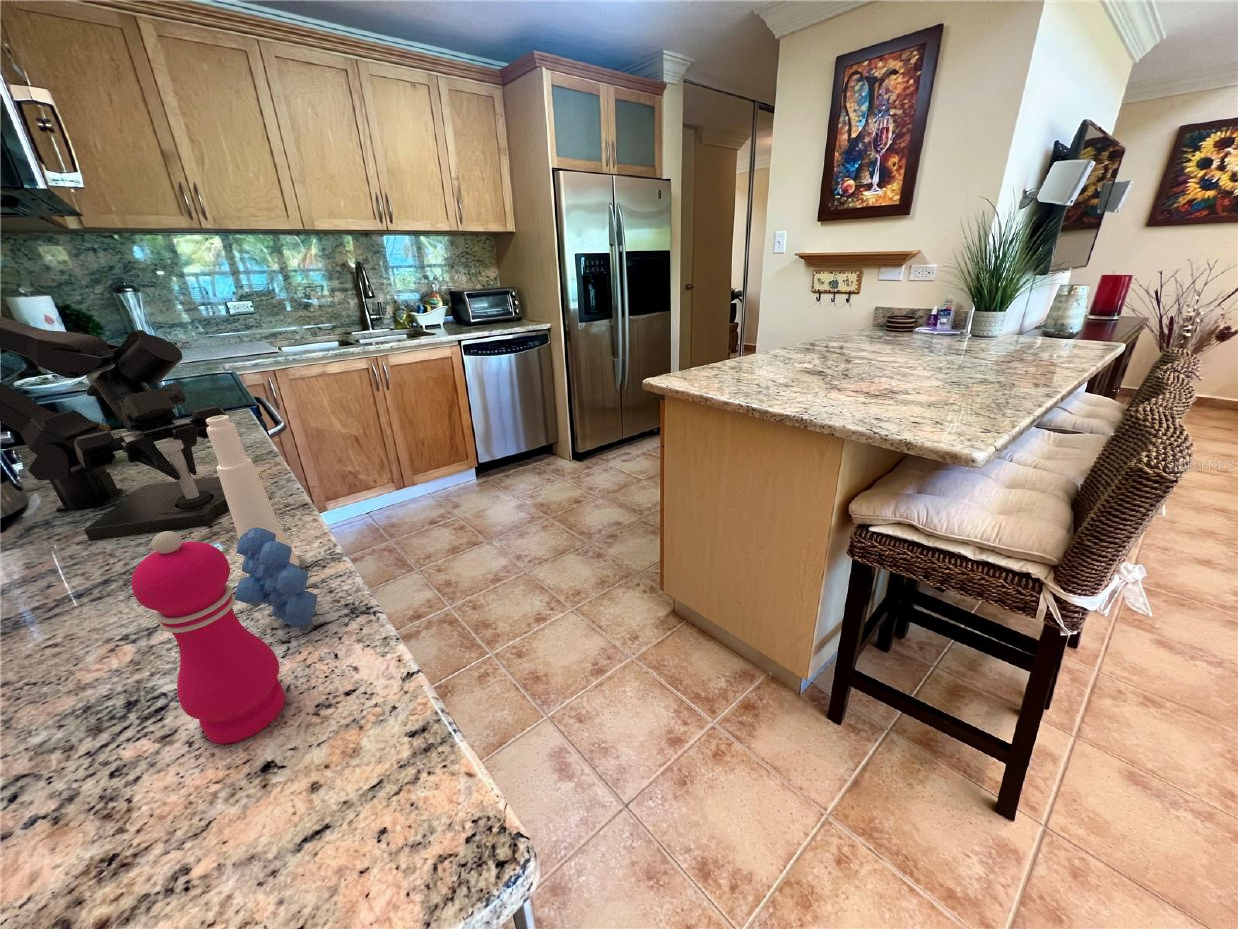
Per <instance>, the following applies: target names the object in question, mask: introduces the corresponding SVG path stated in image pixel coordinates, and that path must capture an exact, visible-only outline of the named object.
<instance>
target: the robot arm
mask: <svg viewBox="0 0 1238 929" xmlns="http://www.w3.org/2000/svg"><path fill="white" fill-rule="evenodd" d="M0 349H1V350H5V351H9V352H12V353H15V354H18V355H20V356H23V357H26V358H28V359H29V360H30V361H31V362H32V363H33V364H34V365H35V366H36V367H38V368H41V369H43V370H45V371H48V372H50V373H52V374H55V375H57V376H59V377H63V378H64V379H78V378H81V377H85V376H89V375H92V374H96V373H99V372H100V373H99V374H98V375H97V376H96V377H95V378H94V379H91V381H90V385H89V386H88V387H87V389H86V395H87V396H88V397H96V398H103V399H104V400H105V402H106V403H107V405H108V406H109V407H110V409H111V410H112V412H113V413H114V414H115V416H116V418H117V419H118V422H119V424H121V426H123V427H124V428H125V430H126V432H124V433H121V434H120V435H119V437H114V435H113V433H112V432H111V433H112V434H111V433H110V432H109V431H104V430H103V429H102V428H100V427H98V426H101V423H100V422H96V421H94V420H92V419H89V418H88V417H87V416H86V415H84V414H82V413H81V412H80V411H77V410H74V409H71V410H68V411H65V412H61V413H59V412H54V411H51V410H49V409H47V408H45V407H43V406H42V405H40V404H38V403H37V402H35V401H33V400H32V399H30V398H29V397H26V396H25V395H23V394H21V393H20V392H18V391H17V390H14V389H13V388H11V387H9V386H7V385H6V384H4V383H3V382H1V381H0V423H2V424H4V425H5V426H7V427H9V428H11V429H13V430H14V431H16V432H18V433H19V434H20V435H21V437H22V439H23V442H24V443H25V445H26V447H27V449H28V450H29V451H30V452H32V453H34V454H35V455H36V456H35V458H34V460H33V461H32V463H31V464H30V466H29V467H28V468H27V471H28V473H30V475H31V476H32V477H33V478H34V479H35V480H36V481H39V482H40V481H41V482H42V481H49V483H50V484H51V486H52V488H53V490H54V493H55V494H56V496H57V497H58V499H59V501H60V503H61V504H60V505H58V506H57V507H55V509H54V510H55V511H56V512H61V511H69V510H79V509H87V508H96V507H97V508H98V507H101V506H103V505H104V504H106V503H107V502H109V501H110V500H112V499H113V498H114V497H117V495H119V494H120V493H122V492H123V491H124V489H123V487H120V488H119V487H118V486H117V485H116V483H115V481H114V478H113V476H112V474H111V473H110V472H109V471H107V470H106V468H105V467H106V466H110V465H113V464H114V463H115V461H116V460H117V455H116V454H115V453H116V452H119V451H122V452H123V453H125V454H126V456H127V461H128V462H129V463H130V464H134V463H140V464H142V465H145V466H147V467H150V468H152V469H155V470H157V471H158V472H161V473H162V474H164V475H167V476H168V477H170V478H172V479H173V480H174V481H178V480H180V476H179V474H178V472H177V471H176V469H175V468H174V467H173V466H172V465H171V462H170V460H169V459H167V458H166V456H164V453H163V452H161V450H159V448H158V447H157V445H156V444H155V443H156V442H160V441H164V440H167V439H172V440H181V441H182V443H183V446H184V448H183V449H181V451H182V454H183V456H184V458H185V461H186V463H187V466H188V468H189V471H190V473H191V475H192V476H196V475H197V468H196V463H195V462H196V461H195V459H194V452H193V447H195V446H197V444H198V438H200V439H204V440H207V439H209V436H208V433H207V427H208V426H209V424H207V423H206V419H208V418H211V417H214V416H220V415H227V416H228V414H227V412H225V410H224V409H223V408H222V407H220V406H217V405H213V406H209V407H204V408H199V409H196V410H192V411H191V413H192V414H191V419H190V420H185V421H180V422H176V423H175V421H174V420H176V419H177V414H176V412H175V411H174V409H176V406H179V405H183V404H184V403H185V402H186V400H187V398H186V396H185V393H184V392H183V390H182V389H181V387H179V385H178V384H177V382H173V383H167V384H163V385H162V386H161V387H160V388H158V389H154V390H151V388H150V387H149V385H148V384H158V383H160V382H161V381H162V380H164V379H165V377H167V375H168V374H169V373H171V371H172V370H173V369H174V368H175V367H176V366H177V365H178V364H179V363H180V362H181V361H182V360H183V357H184V356H183V353H182V351H181V350H180V348H178V346H176V345H175V344H174V343H173V342H171V341H168V340H166V339H165V338H162V337H160V336H157V335H154V334H149V333H148V332H146V331H145V330H144V329H137V330H132V331H130V332H129V333H128V335H127V336H126V339H125V340H124V341H123V343H121V344H120V345H119V344H115V343H110V342H109V343H108V342H107V341H106V340H104V339H103V338H101V337H98V336H96V335H91V334H85V333H81V332H80V333H79V332H75V331H63V330H51V329H46V328H45V329H44V328H39V327H36V326H34V325H31V324H30V325H29V324H27V323H23V322H20V321H17V320H14V319H11V318H7V317H4V316H1V315H0ZM113 365H114V366H113ZM147 383H148V384H147Z"/></svg>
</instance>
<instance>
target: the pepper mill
mask: <svg viewBox="0 0 1238 929" xmlns="http://www.w3.org/2000/svg"><path fill="white" fill-rule="evenodd" d="M182 538H183V537H182V536H181V535H180V534H179V533H177V532H175V531H172V530H166V531H160V532H159V533H157V534H156V535H155V536H153V538H152V540H151V547H152V549H153V551H154V552H152V553H150V554H149V555H147V556H146V557H145V558H144V559H142V560H141V561H140V562H139V564H138V565H137V566H136V568H135V569H134V571H133V573H132V576H131V582H130V583H131V590H132V594H133V596H134V597H135V599H136V601H137V602H138V604H140V605H141V606H143V607H145V608H146V609H148V610H151V611H155V612H154V613H155V614H154V615H155V616H154V617H155V619H156V620H157V621H158V622H159V627H160V628H161V630H163V631H164V632H167V633H171V634H172V635H173V637H174V639H175V640H176V643H177V646H178V649H179V650H178V651H179V658H180V659H179V671H178V677H177V682H176V683H177V684H176V687H177V688H176V689H177V690H176V691H177V698H178V701H179V703H180V706H181V709H182V711H183V712H184V713H185V714H186V715H187V716H188V717H191V718H192V719H195V720H198V721H199V725H200V727H201V730H202V731H203V734H205V737H206V739H207V740H208V741H210V742H212V743H215V744H232V743H236V742H240V741H242V740H245V739H247V738H250V737H253V736H254V735H256V734H257V733H259V732H260V731H262V730H263V729H265V728H266V727H267V726H269V725H270V724H271V723H272V722H273V721H274V720H275V719H276V718H277V717H278V715H279V714H280V713H281V711H282V710H283V708H284V706H285V703H286V694H285V693H286V692H285V691H284V688H283V686H282V684H281V681H280V680H279V679H278V677H279V673H280V662H279V660H278V659H279V658H278V657H277V655H276V654H275V652H274V650H273V649H272V648H271V647H270V646H269V644H267V643H266V642H265V641H264V640H263V639H261V638H260V637H258V636H257V635H255V634H254V633H252V632H251V631H249V630H248V629H246V628H245V627H244V625H243V624H242V623H241V622H240V620H239V619H238V617H237V615H236V613H235V611H234V605H235V603H236V600H235V594H234V593H233V589H232V587H231V585H230V584H228V583H227V582H228V580H229V578H230V575H231V567H230V566H231V565H230V564H229V560H228V559H227V557H226V556H225V554H224V552H223V551H221V550H220V549H219V548H218V547H217V546H214V545H212V544H210V543H207V542H203V541H202V542H201V541H183V539H182Z"/></svg>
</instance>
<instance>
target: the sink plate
mask: <svg viewBox="0 0 1238 929" xmlns="http://www.w3.org/2000/svg"><path fill="white" fill-rule="evenodd" d="M193 480H194V483H195V485H196V487H197V490H198V491H208V492H209V493H210V496H211V498H212V500H210V501H208V502H206V503H204V504H201V505H198V506H194V507H190V508H179V507H178V505H177V502H176V500H177V499H178V498H179V497H181V496H183V495H184V493H183V490H182V488H181V486H180V483H179V481H178V480H174V481H167V482H158V483H149V484H148V483H147V484H145V485H144V486H142V487H141V488H140V489H138V490H136V491H135V492H134V493H132V494H131V495H129V496H128V497H127V498H126V499H124V500H122V501H121V502H119V504H117V505H116V506H114V507H113V508H111V509H110V510H109V511H107V512H106V513H104V514H103V515H101V516H100V517H99V518H97V519H96V520H95V521H93V522H92V523H91V524H89V525H88V526H86V527H85V528H84V529H83V531H84V533H85V535H86V537H87V538H88V540H89V541H97V540H104V539H112V538H118V537H125V536H126V537H127V536H134V535H141V534H150V533H157V532H165V531H172V530H180V529H188V528H195V527H197V528H198V527H204V526H210V524H212V522H213V521H215V519H216V518H217V517H219V516H221V515H222V514H224V513H226V512H228V511H230V509H229V506H228V503H227V500H226V497H225V494H224V491H223V488H222V485H221V482H220V478H219V476H212V477H211V476H210V477H202V478H195V479H194V478H193Z"/></svg>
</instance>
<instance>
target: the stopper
mask: <svg viewBox="0 0 1238 929" xmlns="http://www.w3.org/2000/svg"><path fill="white" fill-rule="evenodd" d="M158 447H159V449H160V452H161V453H162V454H166V455H167V458H168V461H169V462H170V463H171V465H172V466H173V467H174V468H175V469H176V471H177V472H178V474H179V476H180V480H177V481H179V483H180V486H181V488H182V490H183V493H184V495H183V496H181V497H179V498H178V499H177V500H176V502H177V505H178V507H179V508H190V507H194V506H198V505H201V504H204V503H206V502H208V501H210V500H212V498H211V496H210V493H209V492H208V491H198V490H197V487H196V485H195V483H194V480H193V479H194V477H193V475H192V473H191V472H190V471H189V468H188V466H187V463H186V461H185V458H184V456H183V454H182V451H181V449H183V448H184V446H183V443H182V441H181V440H174V439H170V440H166V441H163V442H160V443H159V444H158Z"/></svg>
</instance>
